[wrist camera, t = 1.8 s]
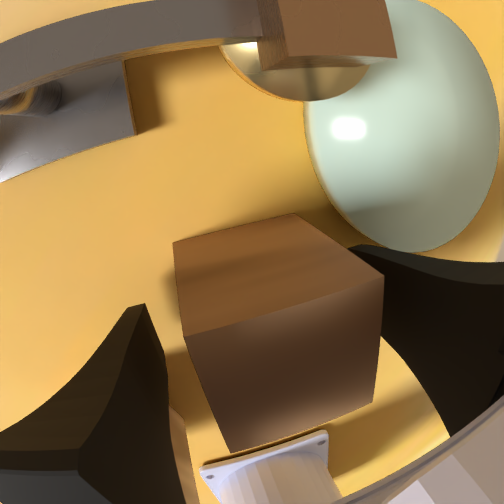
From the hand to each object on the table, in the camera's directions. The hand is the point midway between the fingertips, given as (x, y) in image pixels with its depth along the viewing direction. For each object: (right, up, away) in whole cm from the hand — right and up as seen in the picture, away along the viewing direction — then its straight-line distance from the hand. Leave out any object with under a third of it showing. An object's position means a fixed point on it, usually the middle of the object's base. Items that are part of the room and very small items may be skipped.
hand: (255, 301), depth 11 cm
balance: (-6, +6, -3) cm, 10 cm away
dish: (+7, +7, +1) cm, 10 cm away
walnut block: (0, +1, +1) cm, 2 cm away
